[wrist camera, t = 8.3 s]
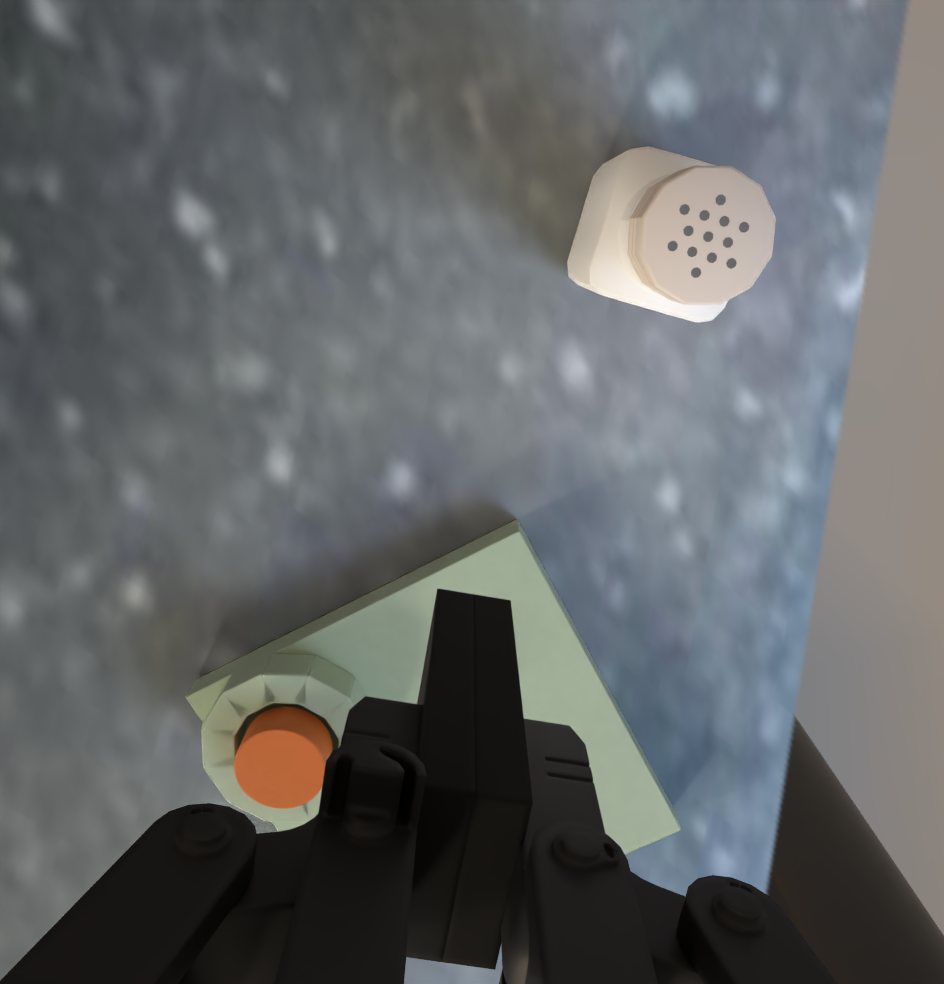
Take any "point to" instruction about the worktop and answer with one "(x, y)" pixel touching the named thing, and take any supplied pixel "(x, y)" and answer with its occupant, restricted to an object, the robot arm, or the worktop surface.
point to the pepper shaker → (671, 233)
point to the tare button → (283, 757)
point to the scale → (398, 671)
